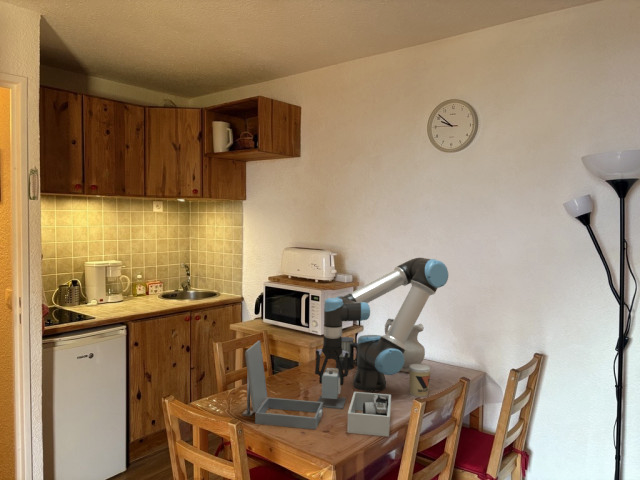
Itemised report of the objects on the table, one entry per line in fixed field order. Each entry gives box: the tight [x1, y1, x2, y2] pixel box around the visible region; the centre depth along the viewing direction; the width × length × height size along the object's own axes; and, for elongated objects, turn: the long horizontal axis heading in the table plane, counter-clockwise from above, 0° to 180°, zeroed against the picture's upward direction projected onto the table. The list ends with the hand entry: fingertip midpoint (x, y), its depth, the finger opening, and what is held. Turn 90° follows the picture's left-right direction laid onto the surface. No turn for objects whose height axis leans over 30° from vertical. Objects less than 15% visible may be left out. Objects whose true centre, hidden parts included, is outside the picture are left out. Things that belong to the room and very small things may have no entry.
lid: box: [244, 340, 268, 413], centre depth 181 cm, size 23×16×1 cm
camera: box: [362, 395, 388, 416], centre depth 178 cm, size 16×9×10 cm, turn 179°
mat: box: [317, 395, 347, 410], centre depth 195 cm, size 11×11×1 cm
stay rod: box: [241, 372, 255, 417], centre depth 182 cm, size 4×4×24 cm
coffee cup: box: [408, 363, 432, 398], centre depth 207 cm, size 9×9×12 cm
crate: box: [346, 391, 392, 438], centre depth 177 cm, size 15×22×7 cm
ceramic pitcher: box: [384, 318, 426, 373], centre depth 242 cm, size 22×20×25 cm
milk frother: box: [335, 336, 358, 371], centre depth 245 cm, size 14×16×15 cm
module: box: [321, 367, 340, 399], centre depth 194 cm, size 6×10×10 cm, turn 170°
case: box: [254, 396, 324, 430], centre depth 179 cm, size 23×16×4 cm
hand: (331, 391), depth 195 cm, fingers closed on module, 6 cm apart
